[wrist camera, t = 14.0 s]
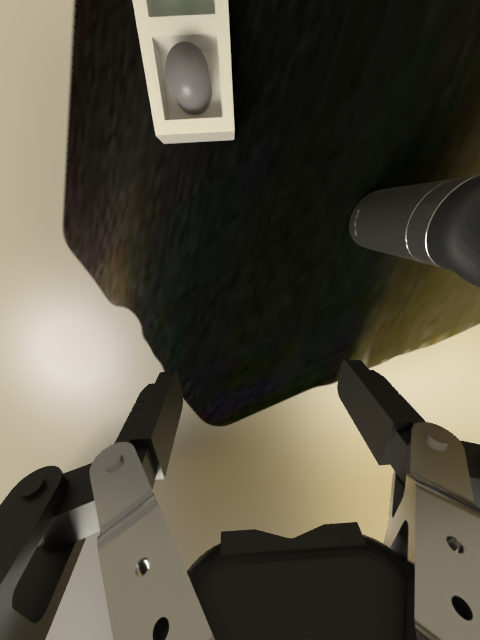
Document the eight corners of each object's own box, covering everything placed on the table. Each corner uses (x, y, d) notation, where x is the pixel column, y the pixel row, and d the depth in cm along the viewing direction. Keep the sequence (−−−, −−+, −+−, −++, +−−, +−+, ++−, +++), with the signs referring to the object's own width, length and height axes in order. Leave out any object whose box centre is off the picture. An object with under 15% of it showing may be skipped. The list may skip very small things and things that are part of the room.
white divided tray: (223, -79, 25) (221, -151, 20) (234, 139, 33) (234, 127, 28) (128, -75, 25) (103, -146, 20) (163, 143, 33) (152, 131, 28)
